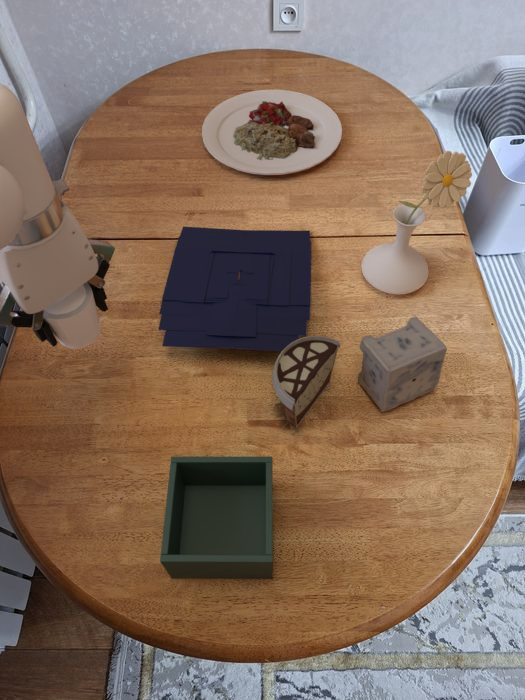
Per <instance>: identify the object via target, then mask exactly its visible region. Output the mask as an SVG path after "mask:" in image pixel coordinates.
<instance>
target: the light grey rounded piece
mask: <svg viewBox="0 0 525 700" xmlns="http://www.w3.org/2000/svg"><path fill="white" fill-rule="evenodd" d="M97 308H98V307H97V306H96V304H95V300H94V296H93V292H92V289H91V287H90V285H89V284H88V282H86V283H84V284H83V285H81V286H80V287H78V288H77V289H75V290H74V291H72V292H71V293H69V294H67V295H66V296H64V297H63V298H61V299H60V300H58V301H57V302H55V303H53V304H52V305H50V306H49V307H47V308H45V309H44V314H43V320H44V321H45V322H46V323H47V324H48V325H49V327H50V329H51V331H52V333H53V334H54V336H55V338H56V340H57V342H58V343H60V345H62V346H64V347H65V348H67V349H73V350H77V349H78V350H79V349H85V348H86V347H88V346H91V345H92V344H93V343H95V341H97V340H98V339H99V337H100V334H101V332H102V323H101V320H100V316H99V311H98V309H97Z"/></svg>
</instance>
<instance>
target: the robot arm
mask: <svg viewBox="0 0 525 700" xmlns="http://www.w3.org/2000/svg"><path fill="white" fill-rule="evenodd" d="M36 140H37V139H36V138H35V135H34V133H33V130H32V128H31V125H30V123H29V120H28V118H27V115H26V113H25V110H24V108H23V106H22V103H21V101H20V100H19V98H18V96H17V94H15V93H14V92H13V90H11V89H10V88H9V87H8V86H6V85H5V84H2V83H0V285H1V288H2V290H1V292H0V326H13V327H15V328H28V329H29V328H30V329H32V331H33V333H34V335H35V336H36V337H37V338H38V340H39V341H40V342H41V343H45V341H47V342H48V343H49V345H51V346H52V347H56V346H57V345H58V343H59V341H58V339H57V338H56V337H55V335H54V334H53V333H52V331H51V329H50V327H49V325H48V324H47V323H46V322H45V321H44V320H43V314H44V309H45V308H47V307H49V306H50V305H52V304H53V303H55V302H57V301H58V300H60V299H61V298H63V297H64V296H66V295H67V294H69V293H71V292H72V291H74V290H75V289H77V288H78V287H80V286H81V285H83V284H84V283H86V282H88V284H89V285H90V287H91V289H92V292H93V296H94V300H95V304H96V308H98V309H99V310H100V312H104V313H106V312H107V311H108V310H109V307H108V305H107V303H106V300H108V297H107V294H106V292H105V288H104V287H105V285H106V280H104V279H105V277H106V275H107V273H108V271H109V268H110V262H111V261H112V258H113V256H114V253H115V250H116V248H115V246H114V245H113V244H112V243H110V242H109V241H107V240H98V239H90V238H88V237H87V235H86V233H85V231H84V229H83V228H82V226H81V224H80V222H79V221H78V219H77V218H76V216H75V215H74V213H73V212H72V210H71V209H70V208H69V206H68V205H67V204H66V203H65V202H64V201H63V198H62V197H63V196H64V195H65V193H67V192H69V191H70V187H69V185H68V183H67V181H65V179H63V178H60V179H58V180H52V178H51V176H50V173H49V170H48V167H47V166H46V163H45V161H44V157H43V156H42V153H41V150H40V148H39V145H38V143H37V141H36ZM16 303H17V305H18V306H19V307H20V310H13V307H14V306H15V304H16Z"/></svg>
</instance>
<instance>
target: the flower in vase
mask: <svg viewBox="0 0 525 700" xmlns="http://www.w3.org/2000/svg"><path fill="white" fill-rule="evenodd" d="M425 174H426V175H425V176H424V177H423V179H422V182H423V183H422V187H421V190H420V191H421V193H422V194H423V198H422V199H421V201H419V203H418V204H417V205H416V204H414V203H412V202H409V201H407V200H406V201H405V200H399V201H398V203H401V204H399V205H397V206H395V208H393V211H392V218H393V220H394V221H395V222H396V235H395V239H394V242H393V241H391V242H383V243H381V244H378V245H375V246H374V247H372V248H371V249H369V250H368V251H367V253H366V254H365V255H364V257H363V258H362V260H361V266H360V267H361V272H362V275H363V277H364V279H365V280H366V281H367V282H368V284H370V285H371V286H372V287H373V288H375V289H376V290H378V291H380V292H382V293H386V294H389V295H406V294H410V293H413V292H415V291H418V290H419V289H420V288H422V287H423V286H424V284H426V282H427V280H428V278H429V267H428V266H429V265H428V263H427V260H426V259H425V257H424V256H423V255H422V253H420V252H419V250H417V249H415V248H414V247H412V246H411V245H410V240H411V238H412V234H413V233H414V231H415V229H416V228H417V227H418V226H420V225H421V224H423V223H424V222H425V221H426V219H427V217H426V216H427V215H426V212H425V211H424V209H423V208H421V207H420V206H421V205H422V204H423V203H424V202H425V201H426V200H427V201H426V203H427V206H431V207H432V208H436V209H437V208H440V209H450V208H451V207H452V205H454V203H457V204H458V203H460V202H461V200H462V197H465V196H466V195H467V193H468V192H467V189H468V188H470V187H471V185H472V182H471V180H470V179H471V178H472V176H473V173H472V167H471V164H470V162H469V161H468V160H467V155H466V154H465V153H463V152H458V151H454V152H452V150H445V151H444V152H443V153H441V154H439V156H438V158H437V160H432V161H431V162H430V163H429V165H428V166H427V168H426V169H425Z"/></svg>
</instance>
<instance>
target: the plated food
mask: <svg viewBox="0 0 525 700" xmlns="http://www.w3.org/2000/svg"><path fill="white" fill-rule="evenodd" d="M342 127H343V126H342V122H341V120H340V118H339V116H338V115H337V113H336V112H335V111H334V110H333V109H332V108H331V106H329V105H328V104H326V103H325V102H323V101H322V100H320V99H318V98H316V97H314V96H311V95H308V94H305V93H302V92H299V91H293V90H286V89H260V90H258V89H257V90H252V91H247V92H244V93H239V94H237V95H235V96H232V97H230V98H227V99H226V100H223V101H222V102H221V103H218V104H217V105H216V106H215V107H214V108H212V109H211V110H210V112H209V113H208V114H207V115H206V117H205V119H204V121H203V124H202V126H201V139H202V142H203V145H204V147H205V148H206V150H207V152H208V153H209V154H210V155H211V156H212V157H213V158H215V160H217V161H218V162H220V163H222V164H223V165H225V166H227V167H229V168H231V169H234V170H236V171H238V172H243V173H247V174H251V175H260V176H281V175H289V174H294V173H295V174H296V173H299V172H302V171H306V170H309V169H311V168H313V167H316V166H317V165H320V164H322V163H323V162H324V161H326V160H327V159H329V158H330V157H331V156H332V155H333V153H334V152H335V151H336V150H337V149H338V147H339V145H340V143H341V141H342V135H343V128H342Z"/></svg>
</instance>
